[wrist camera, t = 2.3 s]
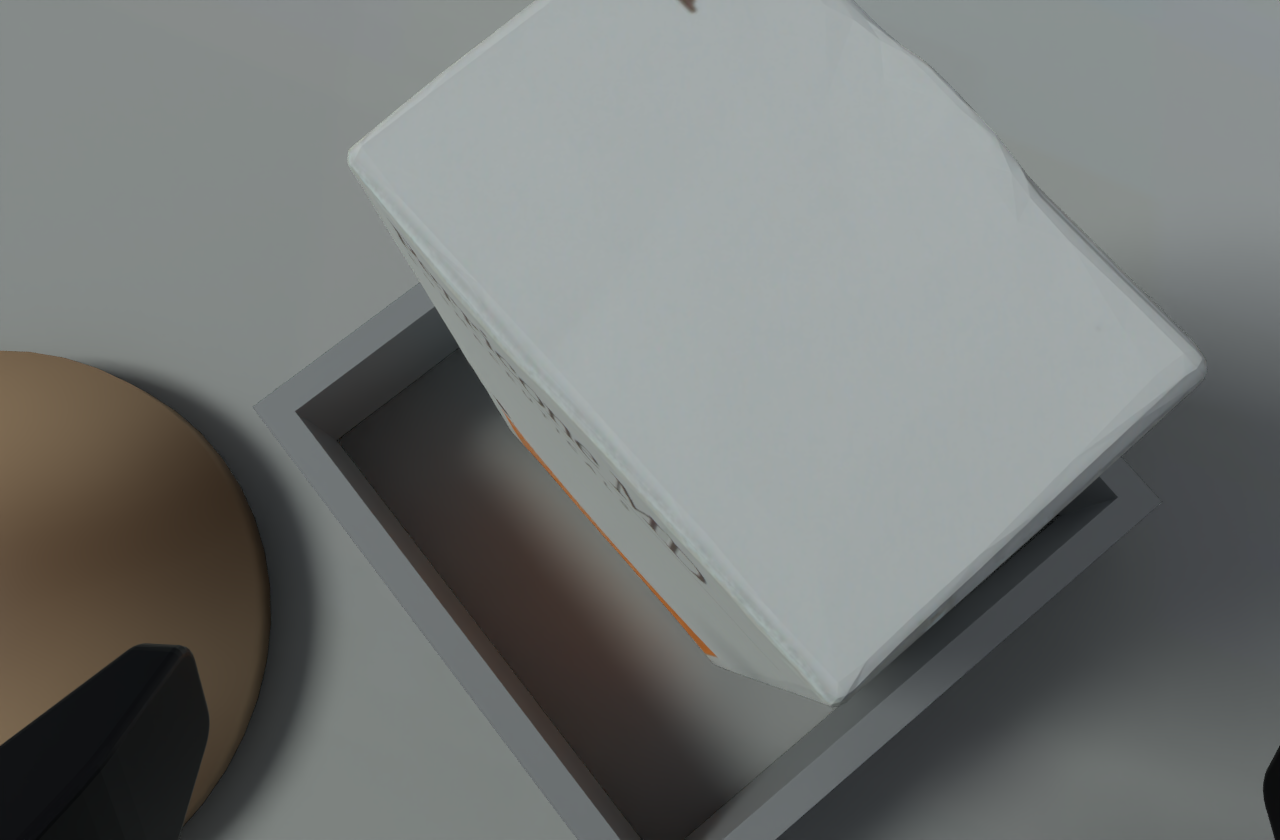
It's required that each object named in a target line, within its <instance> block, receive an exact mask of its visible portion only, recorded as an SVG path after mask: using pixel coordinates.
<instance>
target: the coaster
mask: <svg viewBox="0 0 1280 840" xmlns="http://www.w3.org/2000/svg"><path fill="white" fill-rule="evenodd" d="M270 626H271V611H270V584H269V577H268V571H267V564H266V558H265V552H264V548H263V545H262V541H261V538H260V535H259V531H258V528H257V524H256V521H255V518H254V516H253V513H252V511H251V509H250V507H249V505H248V502H247V500H246V498H245V496H244V494H243V491H242V489H241V487H240V485H239V484H238V482H237V481H236V479H235V478H234V476H233V474H232V473H231V471H230V470H229V468H228V466H227V465H226V463H225V462H224V460H223V459H222V457H221V456H220V455H219V454H218V453H217V452H216V450H215V449H214V448H213V447H212V446H211V445H210V443H209V442H208V441H207V440H206V439H205V438H204V436H203V435H202V434H201V433H200V432H199V431H198V430H197V429H195V428H194V427H193V426H192V425H191V424H190V423H189V422H187V421H186V420H185V419H184V418H183V417H182V416H181V415H180V414H178V413H177V412H176V411H175V410H173V409H172V408H170V407H169V406H167V405H165V404H164V403H162V402H161V401H159V400H158V399H156V398H155V397H153V396H152V395H150V394H149V393H147V392H145V391H143V390H141V389H139V388H137V387H135V386H134V385H132V384H130V383H128V382H126V381H123V380H121V379H119V378H117V377H115V376H113V375H111V374H109V373H106V372H104V371H102V370H100V369H98V368H95V367H92V366H89V365H85V364H82V363H79V362H76V361H73V360H69V359H66V358H62V357H56V356H50V355H44V354H38V353H32V352H17V351H0V745H1V744H3V743H4V742H5V741H7V740H8V739H9V738H11V737H12V736H13V735H15V734H16V733H17V732H19V731H20V730H21V729H23V728H24V727H25V726H27V725H28V724H29V723H31V722H32V721H33V720H35V719H36V718H37V717H39V716H40V715H41V714H43V713H44V712H45V711H47V710H48V709H49V708H51V707H52V706H53V705H55V704H56V703H57V702H59V701H60V700H61V699H63V698H64V697H65V696H67V695H68V694H69V693H71V692H72V691H73V690H75V689H76V688H77V687H79V686H80V685H81V684H83V683H84V682H85V681H87V680H88V679H89V678H91V677H92V676H93V675H95V674H96V673H97V672H99V671H100V670H101V669H103V668H104V667H105V666H107V665H108V664H109V663H111V662H112V661H113V660H115V659H116V658H117V657H119V656H120V655H121V654H123V653H124V652H125V651H127V650H128V649H130V648H131V647H133V646H135V645H138V644H142V643H153V644H170V645H182V646H185V647H187V648H188V649H189V650H190V651H191V652H192V653H193V656H194V658H195V661H196V665H197V669H198V672H199V676H200V680H201V684H202V688H203V691H204V695H205V699H206V703H207V706H208V710H209V718H210V727H209V736H208V741H207V745H206V748H205V752H204V755H203V759H202V762H201V765H200V769H199V772H198V776H197V779H196V782H195V786H194V789H193V793H192V796H191V799H190V803H189V806H188V810H187V813H186V816H185V820H184V823H183V826H184V825H185V824H186V822H187V821H188V820H189V819H190V818H191V817H192V816H193V814H194V813H195V812H196V811H197V810H198V809H199V808H200V806H201V805H202V804H203V803H204V801H205V800H206V799H207V797H208V796H209V794H210V793H211V791H212V790H213V788H214V787H215V785H216V784H217V782H218V781H219V779H220V778H221V776H222V775H223V774H224V772H225V771H226V769H227V767H228V765H229V763H230V761H231V759H232V757H233V755H234V753H235V752H236V750H237V748H238V746H239V744H240V742H241V740H242V738H243V736H244V734H245V731H246V729H247V726H248V723H249V721H250V718H251V715H252V712H253V710H254V707H255V704H256V702H257V699H258V695H259V691H260V687H261V683H262V679H263V674H264V670H265V666H266V662H267V654H268V644H269V635H270Z"/></svg>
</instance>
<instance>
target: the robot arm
mask: <svg viewBox="0 0 1280 840" xmlns="http://www.w3.org/2000/svg"><path fill="white" fill-rule="evenodd" d="M209 727H210V718H209V710H208V706H207V703H206V699H205V695H204V691H203V688H202V684H201V680H200V676H199V672H198V669H197V665H196V661H195V658H194V656H193V653H192V652H191V651H190V650H189V649H188V648H187V647H185V646H182V645H170V644H153V643H142V644H138V645H135V646H133V647H131V648H130V649H128V650H127V651H125V652H124V653H123V654H121V655H120V656H119V657H117V658H116V659H115V660H113V661H112V662H111V663H109V664H108V665H107V666H105V667H104V668H103V669H101V670H100V671H99V672H97V673H96V674H95V675H93V676H92V677H91V678H89V679H88V680H87V681H85V682H84V683H83V684H81V685H80V686H79V687H77V688H76V689H75V690H73V691H72V692H71V693H69V694H68V695H67V696H65V697H64V698H63V699H61V700H60V701H59V702H57V703H56V704H55V705H53V706H52V707H51V708H49V709H48V710H47V711H45V712H44V713H43V714H41V715H40V716H39V717H37V718H36V719H35V720H33V721H32V722H31V723H29V724H28V725H27V726H25V727H24V728H23V729H21V730H20V731H19V732H17V733H16V734H15V735H13V736H12V737H11V738H9V739H8V740H7V741H5V742H4V743H3V744H1V745H0V840H179V837H180V833H181V830H182V827H183V823H184V820H185V816H186V813H187V810H188V806H189V803H190V799H191V796H192V793H193V789H194V786H195V782H196V779H197V776H198V772H199V769H200V765H201V762H202V759H203V755H204V752H205V748H206V745H207V741H208V736H209ZM1263 795H1264V802H1265V806H1266V810H1267V813H1268V817H1269V820H1270V824H1271V827H1272V831H1273V834H1274V838H1275V840H1280V746H1279V748H1278V750H1277V752H1276V754H1275V755H1274V757H1273V759H1272V761H1271V763H1270V765H1269V767H1268V768H1267V771H1266V773H1265V778H1264V782H1263Z"/></svg>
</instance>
